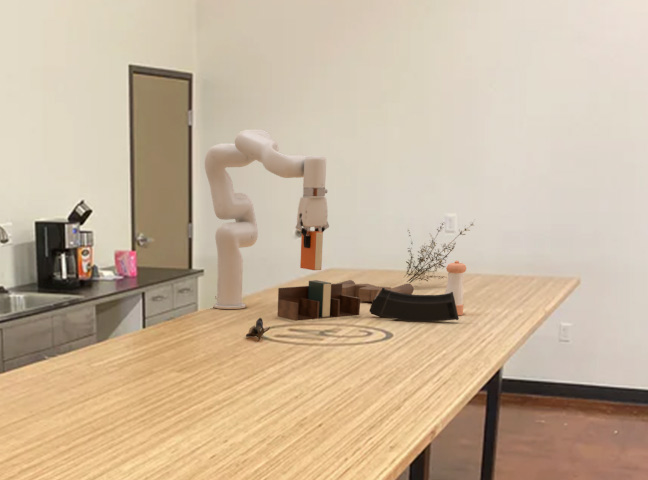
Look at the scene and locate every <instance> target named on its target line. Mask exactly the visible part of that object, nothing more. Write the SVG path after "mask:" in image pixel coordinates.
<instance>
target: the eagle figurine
mask: <svg viewBox="0 0 648 480" xmlns="http://www.w3.org/2000/svg"><path fill="white" fill-rule="evenodd" d="M270 329H271V327H270V326H268V327H267V328H266V329H265V328H264V321H263V318H262V317H259V318H258V319H257V320H256V322H255V325H252V326H251V327H249V329H248V333H246V334H245V337H246V338H254V337H255V338H256V337H257V342H259V341H260V340H261V339H262V340H265V338H264V334H266V332H268V331H269V330H270Z"/></svg>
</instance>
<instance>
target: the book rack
mask: <svg viewBox="0 0 648 480" xmlns="http://www.w3.org/2000/svg"><path fill="white" fill-rule="evenodd" d="M339 283H340V282H339ZM308 289H309V285H301V286H300V285H299V286H288V287H287V286H286V287H278V289H277V291H278V292H277V317H279V318H283V319H288V320H292V321H295V322H297V321H308V320H310V321H311V320H320V319H321V320H322V319H330V318H331V319H332V318H343V317H354V316H355V317H356V316H360V310H361V309H360V306H361V301H360V298H359V297H351V296H346V295H342V284H341V283H340V284H337V283H331V299H330V317H319V301H314V300H310V299H308Z"/></svg>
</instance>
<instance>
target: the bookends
mask: <svg viewBox="0 0 648 480" xmlns="http://www.w3.org/2000/svg"><path fill="white" fill-rule="evenodd" d="M340 283H341V284H342V295H346V296H351V297H356V298H360V302H367V303H369V302H370V303H372V302H373V300H374V299H375V297H376V295H377V293H378V291H379V290H380V292H381V290H382V288H385V289H386V290H391V291H394V292H398V293H404V294H412V295H413V293H414V286H413V285H412V284H411V283H404V284H400V285H398V286H394V287H391V286H379V285H374V284H370V283H356V282H355V281H354V280H352V279H348V280H344V281H340V282H337V283H336V284H340Z"/></svg>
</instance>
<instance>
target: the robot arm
mask: <svg viewBox="0 0 648 480" xmlns="http://www.w3.org/2000/svg"><path fill="white" fill-rule="evenodd" d="M255 161H257V162H259V163H261V164H262V165H263V168H264V169H265V170H267V171H268V172H269V173H271V174H274V175H276V176H278V177H280V178H284V179H293V178H303V179H302V180H303V181H302V182H303V183H302V196H301V197H300V198H299V202H298V207H297V214H296V215H297V216H296V225H295V229H296V230H297V231H299V232H300V234H301V236H302V235H303V236H304V247H305V248H310V242H311V236H309V235H310V230H311V228H314V231H319V232H323V233H324V232H325V231H326V230H328V228H329V227H330V224H329V222H328V201H327V197H326V196H325V195H326V194H328V189H326V176H327V175H326V174H327V158H326V157H325V155H324V156H323V155H307V154H285V153H282V152H279V145H278V143H277V142H276V141H275V140H273V139H272V136H271V134H270V133H269V132H267V131H266V130H264V129H243V130H241V131H239V132H238V133H237V134H236V135H235V138H234V143H230V142H228V143H227V142H223V143H218V144H214V145H212V146H211V147H210V148H209V149H208V150H207V152H206V154H205V157H204V171H205V174H206V177H207V180H208V184H209V189H210V195H211V200H212V205H213V210H214V214H215V216H216V218H217V219H219V220H224V221H225V220H226V221H227V220H234V222H233V221H232V222H225V223H222V224H220V225H219V226H218V227H217V228H216V231H215V236H214V238H215V244H216V252H217V282H216V283H217V284H216V285H217V286H216V287H217V291H216V292H217V293H216V295H215V296H214V299H215V300H216V302H215V303H213V304H212V308H214V309H220V310H238V309H239V310H240V309H245V308H246V307H247V304H246V303H244V302H243V272H244V271H243V270H244V269H243V267H244V266H243V265H244V264H243V263H244V261H243V260H244V259H243V256H242V253H241V250H240V249H243V248H249V247H252V246H254V245H255V244H256V242H257V240H258V237H259V232H258V231H259V230H258V224H257V219H256V214H255V213H256V212H255V209H254V203H253V201H252V199H251V197H250V196H249V195H248V194H246V193H243V192H235V189H234V184H233V180H232V178H231V176H230V174H229V173H228V171H227V170H226V168H243V167H246V166H249V165H250V164H252V163H253V162H255Z"/></svg>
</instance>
